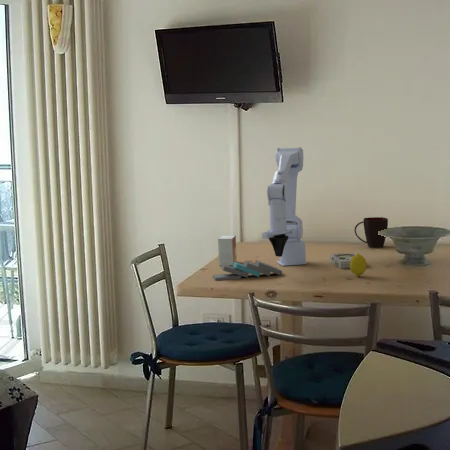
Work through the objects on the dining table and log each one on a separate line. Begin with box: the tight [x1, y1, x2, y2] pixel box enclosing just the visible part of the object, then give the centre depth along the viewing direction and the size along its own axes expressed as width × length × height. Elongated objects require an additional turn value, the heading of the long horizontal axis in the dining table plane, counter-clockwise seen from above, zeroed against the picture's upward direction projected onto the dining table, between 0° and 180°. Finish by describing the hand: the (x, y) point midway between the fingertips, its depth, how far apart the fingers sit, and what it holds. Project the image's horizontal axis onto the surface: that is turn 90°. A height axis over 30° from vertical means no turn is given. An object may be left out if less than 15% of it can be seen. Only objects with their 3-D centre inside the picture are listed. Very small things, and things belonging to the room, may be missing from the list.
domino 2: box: [220, 264, 249, 278], centre depth 241 cm, size 2×5×9 cm
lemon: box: [349, 253, 367, 277], centre depth 235 cm, size 6×6×8 cm
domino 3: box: [242, 260, 272, 277], centre depth 242 cm, size 2×5×9 cm
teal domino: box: [232, 261, 261, 278], centre depth 241 cm, size 2×5×9 cm
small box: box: [217, 235, 237, 266], centre depth 265 cm, size 8×6×10 cm
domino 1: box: [212, 273, 242, 282], centre depth 240 cm, size 2×5×9 cm
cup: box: [354, 216, 389, 249], centre depth 290 cm, size 10×14×12 cm
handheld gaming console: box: [329, 252, 356, 270], centre depth 256 cm, size 9×4×15 cm
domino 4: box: [253, 259, 283, 276], centre depth 243 cm, size 2×5×9 cm
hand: (278, 256), depth 243 cm, fingers closed
